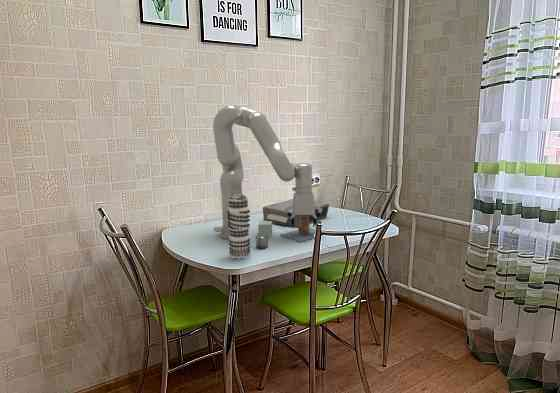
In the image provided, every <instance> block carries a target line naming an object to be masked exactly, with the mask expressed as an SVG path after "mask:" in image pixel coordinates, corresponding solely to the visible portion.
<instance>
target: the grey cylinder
mask: <svg viewBox="0 0 560 393" xmlns="http://www.w3.org/2000/svg"><path fill="white" fill-rule="evenodd" d="M268 239H269V237H268V236H267V235H258V234H257V235H256V236H255V248H256V249H257V250H267V249H268V248H269V242H268V241H269V240H268ZM266 248H267V249H266Z"/></svg>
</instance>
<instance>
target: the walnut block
mask: <svg viewBox="0 0 560 393" xmlns="http://www.w3.org/2000/svg"><path fill="white" fill-rule="evenodd" d="M309 228H310V224H309V216H298V229H297V230H298V235H309Z"/></svg>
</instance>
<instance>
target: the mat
mask: <svg viewBox="0 0 560 393" xmlns="http://www.w3.org/2000/svg"><path fill="white" fill-rule="evenodd" d="M315 230H316V229H315V228H311V227H309V235H298V229H295V230H292V231H288V232H284V233H280V234H279V237H282V238H285V239H288V240H291V239H292V240H291V241H294V240H295V242H297V241H298V243H300V242H301V243H303V241H304V242H307V241H306V240H308V241H310V240H309V239H311V240H313V239H312V238H314V234H315ZM314 239H315V238H314Z"/></svg>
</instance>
